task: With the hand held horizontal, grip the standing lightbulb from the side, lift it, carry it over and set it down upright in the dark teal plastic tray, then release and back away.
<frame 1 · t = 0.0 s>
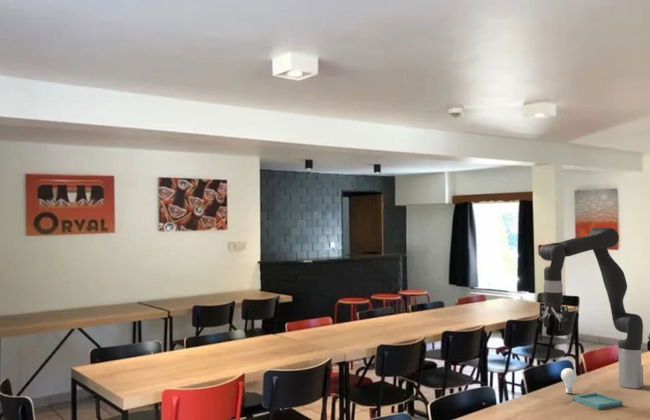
hand: (553, 328, 242), 29 cm above the table, tool pointing down, fingers open, 8 cm apart
lightbulb: (569, 394, 246), on the table
tray: (597, 403, 233), on the table
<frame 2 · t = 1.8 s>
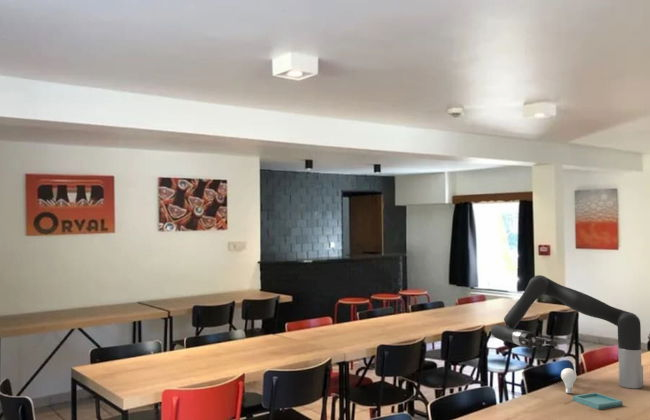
hand: (549, 345, 257), 19 cm above the table, tool horizontal, fingers open, 8 cm apart
nothing on the table moved.
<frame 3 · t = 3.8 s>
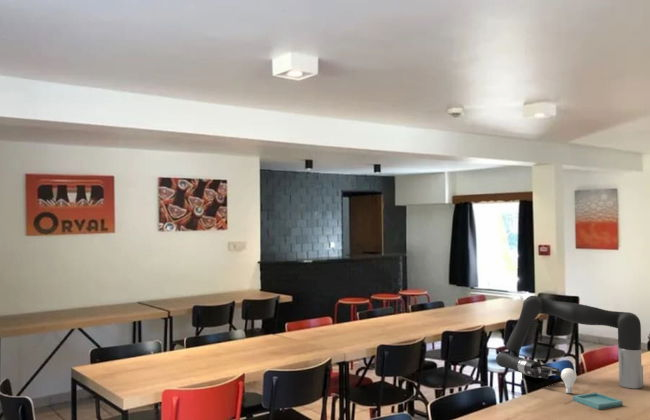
hand: (555, 375, 254), 6 cm above the table, tool horizontal, fingers open, 8 cm apart
nothing on the table moved.
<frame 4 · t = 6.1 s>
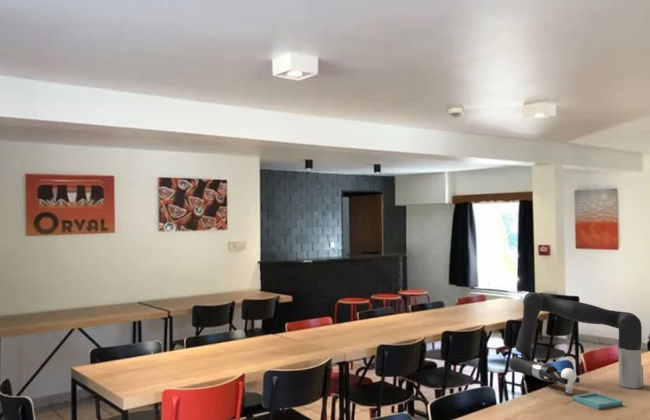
hand: (573, 381, 244), 6 cm above the table, tool horizontal, fingers closed on lightbulb, 6 cm apart
lightbulb: (569, 394, 246), on the table, touching gripper
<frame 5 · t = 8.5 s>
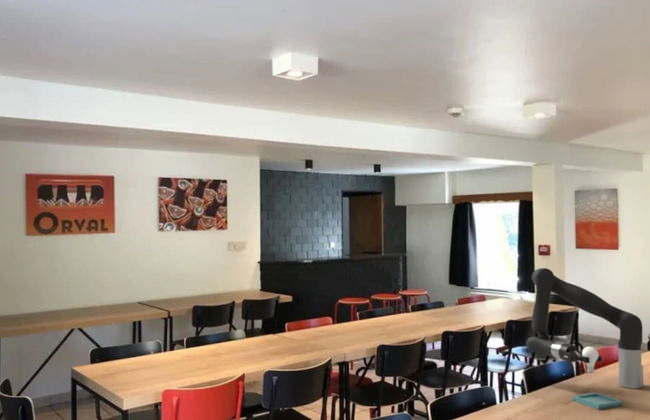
hand: (595, 359, 234), 18 cm above the table, tool horizontal, fingers closed on lightbulb, 6 cm apart
lightbulb: (590, 373, 236), point 11 cm above the table, touching gripper
when the fingers open (8 cm above the table, at t = 11.2 s): lightbulb stays where it is, resting on tray.
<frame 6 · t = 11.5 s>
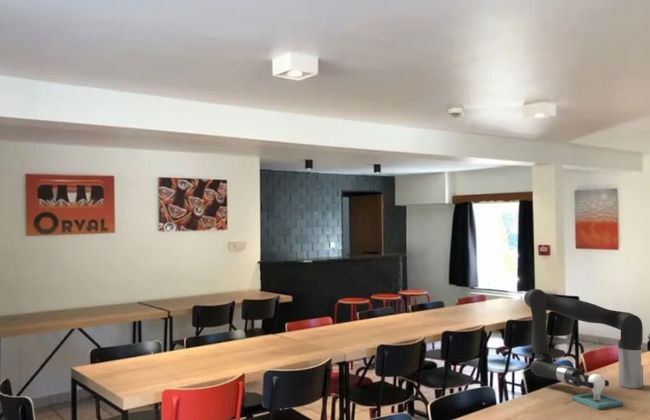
hand: (600, 384, 231), 8 cm above the table, tool horizontal, fingers open, 8 cm apart
lightbulb: (596, 401, 233), point 1 cm above the table, touching tray
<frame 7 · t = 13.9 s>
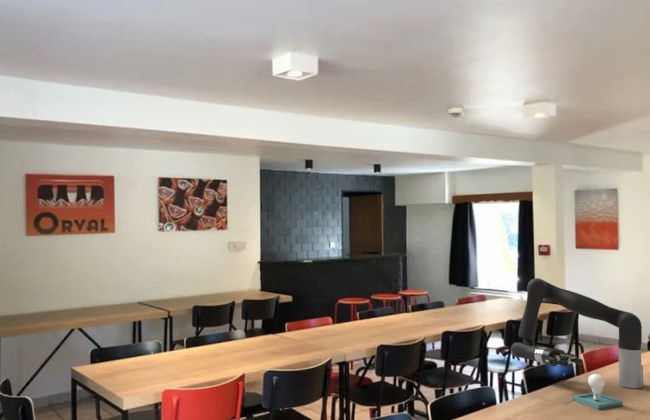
hand: (574, 363, 246), 13 cm above the table, tool horizontal, fingers open, 8 cm apart
nothing on the table moved.
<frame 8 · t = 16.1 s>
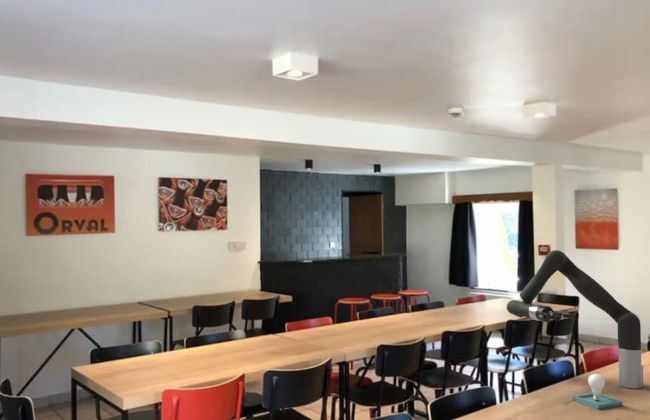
hand: (567, 317, 254), 32 cm above the table, tool horizontal, fingers open, 8 cm apart
nothing on the table moved.
at the end: lightbulb inside the target area on the tray (0.1 cm from its centre), point 0.8 cm above the tray's base; lightbulb tilted 0°; the gripper is holding nothing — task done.
